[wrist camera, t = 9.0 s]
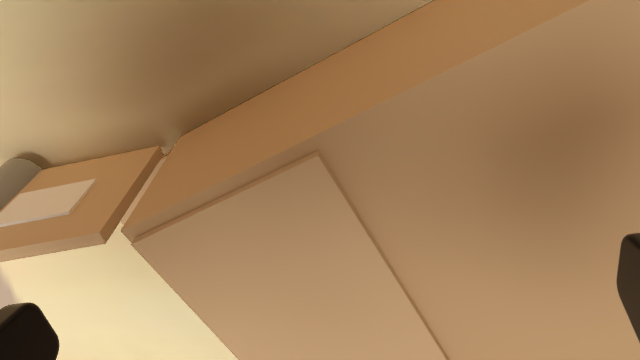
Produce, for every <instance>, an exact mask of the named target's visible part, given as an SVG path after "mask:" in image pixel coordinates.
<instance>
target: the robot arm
mask: <svg viewBox="0 0 640 360" xmlns="http://www.w3.org/2000/svg"><path fill="white" fill-rule="evenodd" d="M616 284H617V290H618V294H619V297H620V299H621V302H622V304H623V306H624V308H625V311H626V313H627V315H628V318H629V320H630V322H631V324H632V327H633V329H634V331H635V334H636V336H637V338H638V340H639V343H640V233H633V234H628V235H626V236H625V237H624V238H623V239H622V242H621V247H620V254H619V262H618V270H617V279H616ZM58 351H59V339H58V336H57V334H56V333H55V331H54V330H53V328H52V327H51V325H50V323H49V322H48V320H47V319H46V317H45V316H44V314H43V313H42V311H41V310H40V308H39V307H38V306H37V305H35V304H34V303H20V304H12V305H8V306H5V307H3V308H2V309H0V360H56V358H57V355H58Z"/></svg>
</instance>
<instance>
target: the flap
mask: <svg viewBox="0 0 640 360" xmlns="http://www.w3.org/2000/svg"><path fill="white" fill-rule="evenodd" d="M162 156H163V153H162V150H161V148H160V146H155V147H150V148H146V149H141V150H136V151H131V152H126V153H121V154H116V155H111V156H107V157H102V158H97V159H92V160H87V161H82V162H77V163H73V164H68V165H63V166H58V167H53V168H48V169H43V170H42V169H41V168H40V167H39V166H38V165H37V164H35V163H33V162H32V161H29V160H27V159H23V158H13V159H10V160H8V161H7V162H5V163H4V164H3V165H2V166H1V167H0V262H3V261H9V260H14V259H20V258H26V257H32V256H37V255H43V254H49V253H54V252H60V251H66V250H71V249H77V248H83V247H88V246H94V245H100V244H105V243H106V242H107V240H108V239H109V237H110V236H111V234H112V233H113V231H114V230H115V228H116V227H117V225H118V224H119V222H120V221H121V219H122V217H123V216H124V214H125V213H126V211H127V210H128V208H129V207H130V205H131V204H132V202H133V201H134V199H135V198H136V196H137V195H138V193H139V191H140V190H141V188H142V187H143V185H144V184H145V182H146V181H147V179H148V178H149V176H150V175H151V173H152V172H153V170H154V169H155V167H156V166H157V164H158V162H159V161H160V159H161V158H162Z"/></svg>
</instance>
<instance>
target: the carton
mask: <svg viewBox="0 0 640 360" xmlns="http://www.w3.org/2000/svg"><path fill="white" fill-rule="evenodd" d="M121 222H122V223H123V224H124V226H123V227H122V229H121V232H122V233H123V234H124V235H125V236H126V237H127V238H128V239H129V240H130V241H131V243H132V244H131V245H132V246H133V247H134V248H135V249H136V250H137V251H138V252H139V254H140V255H141V256H142V257H143V258H144V259H145V260H146V261H147V262H148V263H149V264H150V265H151V266H152V267H153V269H154V270H155V271H156V272H157V273H158V274H159V275H160V276H161V277H162V278H163V279H164V280H165V281H166V282H167V283H168V285H169V286H170V287H171V288H172V289H173V290H174V291H175V292H176V293H177V294H178V295H179V296H180V297H181V298H182V300H183V301H184V302H185V303H186V304H187V305H188V306H189V307H190V308H191V309H192V310H193V311H194V312H195V313H196V315H197V316H198V317H199V318H200V319H201V320H202V321H203V322H204V323H205V324H206V325H207V326H208V327H209V328H210V330H211V331H212V332H213V333H214V334H215V335H216V336H217V337H218V338H219V339H220V340H221V341H222V342H223V343H224V345H225V346H226V347H227V348H228V349H229V350H230V351H231V352H232V353H233V354H234V355H235V356H236V357H237V358H238V359H239V360H640V343H639V340H638V338H637V336H636V334H635V331H634V329H633V327H632V324H631V322H630V320H629V318H628V315H627V313H626V311H625V308H624V306H623V304H622V302H621V299H620V297H619V294H618V290H617V284H616V279H617V270H618V262H619V254H620V247H621V242H622V239H623V238H624V237H625V236H626V235H628V234H633V233H640V0H434V1H432V2H430V3H428V4H427V5H425V6H423V7H421V8H419V9H417V10H415V11H414V12H412V13H410V14H408V15H406V16H404V17H402V18H401V19H399V20H397V21H395V22H393V23H391V24H389V25H387V26H386V27H384V28H382V29H380V30H378V31H376V32H374V33H373V34H371V35H369V36H367V37H365V38H363V39H361V40H360V41H358V42H356V43H354V44H352V45H350V46H348V47H347V48H345V49H343V50H341V51H339V52H337V53H335V54H333V55H332V56H330V57H328V58H326V59H324V60H322V61H320V62H319V63H317V64H315V65H313V66H311V67H309V68H307V69H306V70H304V71H302V72H300V73H298V74H296V75H294V76H293V77H291V78H289V79H287V80H285V81H283V82H281V83H279V84H278V85H276V86H274V87H272V88H270V89H268V90H266V91H265V92H263V93H261V94H259V95H257V96H255V97H253V98H252V99H250V100H248V101H246V102H244V103H242V104H240V105H238V106H237V107H235V108H233V109H231V110H229V111H227V112H225V113H224V114H222V115H220V116H218V117H216V118H214V119H212V120H211V121H209V122H207V123H205V124H203V125H201V126H199V127H198V128H196V129H194V130H192V131H190V132H188V133H186V134H184V135H183V136H181V137H180V138H179V139H178V141H177V142H176V144H175V146H174V147H173V149H172V150H171V152H170V153H169V154H168V155H167V156H165V157H163V158H161V159H160V161H159V162H158V164H157V166H156V167H155V169H154V170H153V172H152V173H151V175H150V176H149V178H148V179H147V181H146V182H145V184H144V185H143V187H142V188H141V190H140V191H139V193H138V195H137V196H136V198H135V199H134V201H133V202H132V204H131V205H130V207H129V208H128V210H127V211H126V213H125V214H124V216H123V217H122V219H121Z"/></svg>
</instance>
